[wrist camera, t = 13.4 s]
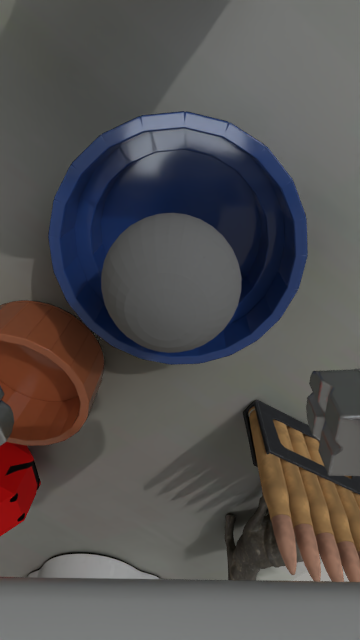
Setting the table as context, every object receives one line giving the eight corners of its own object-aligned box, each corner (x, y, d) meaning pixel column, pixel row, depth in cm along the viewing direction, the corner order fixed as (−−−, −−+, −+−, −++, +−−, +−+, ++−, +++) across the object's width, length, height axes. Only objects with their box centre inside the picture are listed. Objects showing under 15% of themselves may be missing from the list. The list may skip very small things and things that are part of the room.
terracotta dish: (114, 401, 28) (101, 445, 24) (3, 404, 29) (-27, 447, 25) (89, 296, 23) (67, 329, 19) (-45, 303, 24) (-92, 337, 20)
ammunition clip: (242, 412, 28) (268, 576, 18) (255, 398, 27) (290, 562, 17) (335, 457, 30) (406, 625, 20) (349, 446, 30) (432, 616, 19)
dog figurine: (254, 543, 39) (265, 625, 32) (210, 531, 38) (213, 613, 31) (311, 489, 33) (338, 576, 27) (261, 474, 32) (277, 559, 26)
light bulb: (245, 214, 19) (284, 280, 11) (202, 296, 22) (205, 401, 13) (151, 169, 18) (110, 203, 10) (119, 262, 21) (65, 351, 12)
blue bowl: (277, 318, 23) (295, 360, 19) (102, 326, 24) (81, 368, 20) (293, 106, 17) (327, 96, 13) (56, 129, 18) (10, 128, 14)
